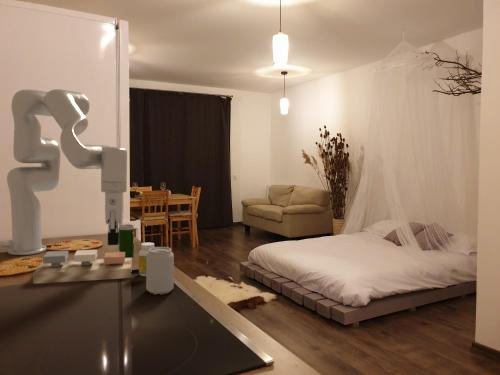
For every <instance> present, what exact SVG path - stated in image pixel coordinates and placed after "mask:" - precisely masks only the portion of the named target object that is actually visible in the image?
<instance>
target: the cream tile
mask: <svg viewBox="0 0 500 375" xmlns="http://www.w3.org/2000/svg"><path fill="white" fill-rule="evenodd" d="M97 257H98V249H82V250H80V249H79V250H76V251H75V253H74V254H73V260H74V262H81V264H82V265H90V264H91V261H96V259H97Z"/></svg>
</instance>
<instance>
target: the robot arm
mask: <svg viewBox="0 0 500 375" xmlns="http://www.w3.org/2000/svg"><path fill="white" fill-rule="evenodd" d="M10 107H11V112H12V117H13V124H14V125H13V147H12V148H13V149H12V150H13V158H14V160H15V161H16V162H18V163H22V164H40V166H33V165H32V166H19V167H14V168H12V169H11V170H9V171H8V172H7V175H6V182H7V188H8V191H9V196H10V197H9V199H10V208H11V209H10V210H11V211H10V212H11V213H10V215H11V237H12V238H11V239H10V240H9V241H8V240H6V241H5V240H2V241H1V240H0V247H1V248H8V249H7V253H8V254H9V255H12V256H27V255H28V256H29V255H35V254H39V253H40V254H41V253H43V252H45V251H47V245H45V244H43V243H42V211H41V209H42V208H41V202H40V200H39V198H38V197H37V195H35V193H36V192H50V191H53V190H55V189H56V188H57V186H58V185H59V182H60V181H59V180H60V170H61V152H62V153H63V155H64V156H65V158H66V160H67V161H68V162H69V163H70V165H72V166H73V167H74V168H76V169H79V170H93V169H95V170H101V171H100V175H101V176H100V177H101V178H100V180H101V181H100V191H101V192H102V193H104V216H105V220H104V221H105V224H106V225H108V228H107V229H108V231H107V245H108V246H119V231H118V229H119V225H123V223H124V193H127V186H128V185H127V184H128V180H127V179H128V151H127V149H126V148H124V147H122V146H121V147H120V146H119V147H118V146H109V145H101V144H100V145H99V144H82V143H81V142H80V141H79V139H78V138H77V136H80V135H81V134H82V133H84V132H85V131H86V130H87V128H88V125H89V121H88V118H87V117H86V116H87V114H88V113H89V111H90V102H89V99H88V97H86V95H85V94H84V93H81V92H78V91H73V90H66V89H59V88H57V89H56V88H55V89H51V90H49V91H42V90H37V89H21V90H17V91H16V92H15V93H14V95H13V97H12V100H11V106H10ZM37 116H44V117H53V119H54V121H55V122H56V123H57V125H58V126H59V127H60V129H61V132H60V137H59V139H60V140H59V142H60V146H59V144H58V142H57V141H56V140H55V139H53V138H49V137H42V126H41V125H42V124H41V122H40V121H39V119H38V117H37Z"/></svg>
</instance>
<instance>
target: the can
mask: <svg viewBox="0 0 500 375" xmlns="http://www.w3.org/2000/svg"><path fill="white" fill-rule="evenodd" d="M174 255H175V254H174V252H172V248H171V247H167V246H154V248H151V249H149V253H148V254H147V255H146V276H145V277H146V279H145V280H146V281H145V282H146V285H145V287H146V291H147V292H149V293H150V294H151V293H153V294H152V295H157V294H160V295H165V294H169V293H170V292H172V290H173V289H174V287H175V286H174V282H175V280H174V276H175V275H174V273H175V272H174V265H175V264H174V263H175V261H174V260H175V259H174V258H175V256H174Z"/></svg>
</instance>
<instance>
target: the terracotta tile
mask: <svg viewBox="0 0 500 375" xmlns="http://www.w3.org/2000/svg"><path fill="white" fill-rule="evenodd" d="M103 259H104V264H111V265H119V263H125V252H119V251H116V252H115V251H114V252H105V254H104V257H103Z"/></svg>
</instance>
